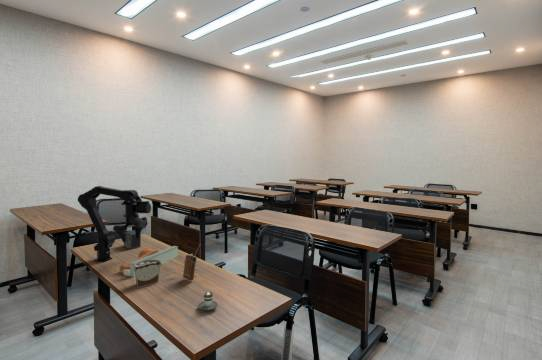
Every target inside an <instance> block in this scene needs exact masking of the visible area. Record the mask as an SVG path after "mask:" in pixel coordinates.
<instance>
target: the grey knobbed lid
mask: <svg viewBox="0 0 542 360" xmlns="http://www.w3.org/2000/svg"><path fill="white" fill-rule="evenodd" d="M213 295H214V294H213V292H211V291H206V292H205V293H204V294H203V299H204V301H201V302H199V303H198V304H197V308H198V309H199V310H202V311H211V310H214V309H216V308H217V307H218V303H217V302H216V301H214V300H213Z"/></svg>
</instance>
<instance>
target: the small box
mask: <svg viewBox="0 0 542 360" xmlns="http://www.w3.org/2000/svg"><path fill="white" fill-rule="evenodd" d="M126 231H127V233H126V242H125V243H123V247H125V248H127V249H129V250H135V249H139V247H140V248H141V247H142V246H141V245H142V244H141V239H142V238H141V233H142V232H141V233H140V236H139V239H137V238H136V233H135V230H129V231H128V230H126Z"/></svg>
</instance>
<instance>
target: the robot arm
mask: <svg viewBox="0 0 542 360" xmlns="http://www.w3.org/2000/svg"><path fill="white" fill-rule="evenodd" d="M101 195H104V196H108V197H109V196H111V197H114V198H119V199H120V200H122V201H123V202H122V203H120V205H121V206H125V207H124V208H125V209H124V210H125V211H124V214H123V218H124V219H125V220H124V221H123V223H122V224H121V223H120V224H119V223H118V224H115V225H114V226H113V227H112V230H111V231H109V230H108V229H107V227H106V225H105V223H104V221H103V218H102V216H101V214H100V212H99V210H98V207H97V201H98V200H97V198H98V197H99V196H101ZM77 202H78V203H79V205H80V206H81V207H82V208H83V209H85V210H86V212H87V214H88V216H89V219H90V221H91V223H92V225H93V227H94V229H95V231H96V233H97V234H96V235H97V236H96V237H97V238H96V240H97V243H96V244H95V245H94V246H93V250H94V251H95V252H96V258H94V259H93V261H97V262H101V263H102V262H106V261H109V260H112V259H113V257H111V249H110V248H112V246H113V245H114V243H115V241H116V235H114V232H115V233H117V234H118V236H119V237H120V239H121V241H122V242H123V244H124V243H125V242H126V233H127V231H128V228H129V229H130V228H133V227H134V231H135V233H136V238H137V239H139V236H140V233H142V230H143V229H144V228H145V227H146V226H147V225H148V217H147V216H143V217H140V216H139V214H150V213H151V211H152V205H151V203H150V201H149V200H145V201H143V199H142V198H141V197H140V196H139V193H138V191H137V190H135V189H116V188H111V187H105V186H102V185H97V186H94V187H93V188H91V189H89V190H88V191H85V192H84V193H81V194H79V195H78V197H77ZM113 231H114V232H113Z"/></svg>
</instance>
